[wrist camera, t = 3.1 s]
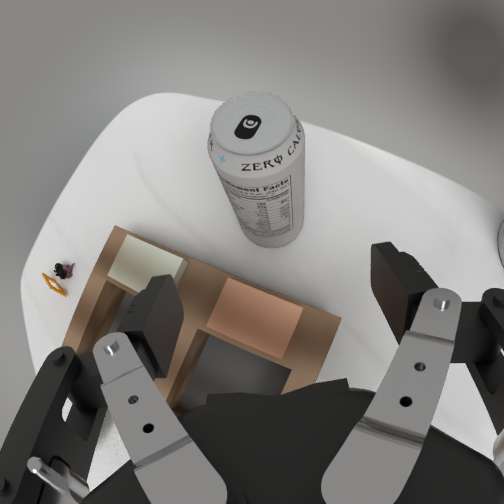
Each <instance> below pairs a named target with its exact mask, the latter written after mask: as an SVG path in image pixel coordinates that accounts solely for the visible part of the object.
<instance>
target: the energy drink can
mask: <svg viewBox="0 0 504 504" xmlns="http://www.w3.org/2000/svg"><path fill="white" fill-rule="evenodd" d="M210 130H211V132H210V134H209V138H208V152H209V156H210V158H211V160H212V163H213V165H214V167H215V169H216V172H217V174H218V176H219V178H220V180H221V183H222V185H223V187H224V189H225V192H226V194H227V196H228V198H229V201H230V203H231V205H232V207H233V209H234V212H235V214H236V216H237V218H238V221H239V223H240V225H241V227H242V230H243V231H244V233H245V235H246V236H247V237H248V239H249V240H251V241H252V242H253V243H255V244H257V245H259V246H262V247H267V248H275V247H280V246H284V245H286V244H288V243H290V242H291V241H292V240H293V239H295V237H296V236H297V235H298V234H299V232H300V230H301V228H302V225H303V218H304V177H305V135H304V130H303V127H302V125H301V123H300V122H299V120H298V119H297V118H296V117H295V115H293V112H292V110H291V108H290V106H289V105H288V104H287V103H286V102H285V101H284V100H282V99H281V98H279V97H277V96H275V95H272V94H269V93H263V92H251V93H244V94H241V95H237V96H235V97H233V98H231V99H229V100H227V101H226V102H224V103H223V104H222V105H221V106H220V107H219V108H218V109H217V110H216V111H215V113H214V115H213V117H212V120H211V124H210Z"/></svg>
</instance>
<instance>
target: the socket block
mask: <svg viewBox="0 0 504 504" xmlns="http://www.w3.org/2000/svg"><path fill="white" fill-rule="evenodd" d="M166 274H170V275H171V276H172V277H173V280H174V282H175V285H176V288H177V291H178V294H179V297H180V299H181V302H182V305H183V310H184V320H183V323H182V327H181V330H180V333H179V337H178V340H177V343H176V347H175V350H174V354H173V357H172V361H171V364H170V368H169V371H168V375H167V378H155V381H154V383H155V385H156V387H157V388H158V390H159V391H160V393H161V395H162V396H163V398H164V399H165V401H166V402H167V404H168V406H169V407H170V409H171V410H172V412H173V413H174V415H175V416H176V418H178V417H179V416H180V415H182V414H184V413H185V412H187V411H189V410H191V409H193V408H196V407H199V406H201V405H205V404H206V399H207V394H220V393H236V392H243V393H252V394H260V395H270V396H278V395H281V394H284V393H287V392H290V391H293V390H296V389H299V388H302V387H305V386H308V385H310V384H315V381H316V379H317V377H318V375H319V372H320V370H321V368H322V365H323V363H324V361H325V358H326V356H327V354H328V351H329V349H330V346H331V344H332V341H333V339H334V336H335V334H336V331H337V329H338V326H339V324H340V321H341V318H340V317H338V316H335V315H332V314H330V313H327V312H324V311H322V310H319V309H317V308H314V307H311V306H309V305H306V304H304V303H301V302H299V301H296V300H293V299H291V298H288V297H286V296H283V295H281V294H278V293H276V292H273V291H271V290H268V289H266V288H263V287H261V286H258V285H256V284H253V283H251V282H248V281H246V280H243V279H241V278H238V277H236V276H233V275H231V274H229V273H226V272H224V271H221V270H219V269H216V268H214V267H212V266H209V265H207V264H204V263H202V262H199V261H197V260H195V259H192V258H190V257H188V256H185V255H183V254H180V253H178V252H176V251H173V250H171V249H169V248H166V247H164V246H162V245H159V244H157V243H155V242H152V241H150V240H148V239H145V238H143V237H141V236H138V235H136V234H134V233H132V232H129V231H127V230H125V229H122V228H120V227H118V226H116V225H115V226H114V228H113V230H112V232H111V234H110V236H109V238H108V240H107V242H106V244H105V246H104V248H103V250H102V252H101V254H100V256H99V258H98V260H97V262H96V265H95V267H94V269H93V271H92V273H91V275H90V278H89V280H88V282H87V284H86V287H85V289H84V291H83V293H82V296H81V298H80V300H79V303H78V305H77V308H76V310H75V313H74V315H73V318H72V320H71V323H70V325H69V328H68V330H67V333H66V336H65V338H64V341H63V344H62V347H63V346H69V347H72V348H73V350H74V351H75V353H76V354H77V356H79V355H83V354H86V353H90V352H93V348H94V346H95V344H96V343H97V342H98V340H100V339H101V338H102V337H104V336H106V335H108V334H110V333H114V332H116V330H117V328H118V326H119V325H120V323H121V321H122V319H123V317H124V315H125V313H127V312H126V311H127V310H128V308H129V307H130V304H131V302H132V300H133V299H134V297H135V296H136V295H137V294H138V293H139V292H140V291H141V290H143V289H146V287H147V285H148V283H149V281H150V279H151V278H152V277H153V276H159V275H166Z"/></svg>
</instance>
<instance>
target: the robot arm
mask: <svg viewBox="0 0 504 504" xmlns="http://www.w3.org/2000/svg"><path fill="white" fill-rule="evenodd" d="M498 246H499V253H500V257H501V260H502V263H503V266H504V221H503V223H502V224H501V227H500V230H499V236H498ZM371 287H372V291H373V294H374V296H375V298H376V300H377V302H378V304H379V305H380V307H381V309H382V311H383V313H384V315H385V317H386V319H387V322H388V324H389V326H390V328H391V330H392V332H393V334H394V336H395V338H396V340H397V342H398V344H399V347H398V349H397V352H396V354H395V356H394V358H393V360H392V362H391V365H390V367H389V369H388V371H387V373H386V375H385V377H384V379H383V381H382V383H381V385H380V387H379V389H378V391H377V392H373V391H370V390H365V389H359V388H349V385H348V381H347V378H344V379H338V380H333V381H327V382H321V383H315V384H310V385H308V386H305V387H302V388H299V389H296V390H293V391H290V392H287V393H284V394H281V395H278V396H270V395H260V394H252V393H243V392H236V393H220V394H207V399H206V404H205V405H201V406H199V407H196V408H193V409H191V410H189V411H187V412H185V413H184V414H182V415H180V416H179V417H178V418H176V416H175V415H174V413H173V412H172V410H171V409H170V407H169V406H168V404H167V402H166V401H165V399H164V398H163V396H162V395H161V393H160V391H159V390H158V388H157V387H156V385H155V383H154V381H155V378H167V375H168V371H169V368H170V364H171V361H172V357H173V354H174V350H175V347H176V343H177V340H178V337H179V333H180V330H181V327H182V323H183V320H184V310H183V305H182V302H181V299H180V297H179V294H178V291H177V288H176V285H175V282H174V280H173V277H172V276H171V275H170V274H166V275H159V276H153V277H152V278H151V279H150V281H149V283H148V285H147V287H146V289H143V290H141V291H140V292H139V293H138V294H137V295H136V296H135V297H134V299H133V300H132V302H131V304H130V307H129V308H128V310H127V311H126V312H127V313H125V315H124V317H123V319H122V321H121V323H120V325H119V326H118V328H117V330H116V332H114V333H110V334H108V335H106V336H104V337H102V338H101V339H100V340H98V342H97V343H96V344H95V346H94V348H93V352H90V353H86V354H83V355H79V356H77V354H76V353H75V351H74V350H73V348H72V347H69V346H63V347H60V348H57V349H55V350H54V351H53V352H51V353H50V354H49V355H48V356H47V358H46V360H45V361H44V363H43V365H42V367H41V368H40V370H39V372H38V374H37V376H36V378H35V380H34V381H33V383H32V385H31V387H30V389H29V391H28V393H27V395H26V397H25V399H24V401H23V403H22V405H21V407H20V409H19V411H18V413H17V415H16V417H15V419H14V421H13V424H12V425H11V428H10V430H9V432H8V434H7V437H6V439H5V441H4V443H3V446H2V448H1V451H0V504H504V356H503V354H502V353H501V351H500V350H501V348H502V349H503V351H504V290H503V289H500V288H491V289H488V290H486V291H485V292H484V293H483V296H482V300H481V302H462V301H461V298H460V297H459V295H458V294H456V293H455V292H453V291H452V290H449V289H445V288H439V287H438V286H437V285H436V284H435V282H434V281H433V280H432V279H431V277H430V276H429V275H428V274H427V272H426V271H424V269H423V268H422V266H421V265H419V263H418V262H417V260H416V259H415V258H414V257H413V256H411V255H409V254H407V253H406V252H399V251H398V250H397V249H396V248H395V246H394V245H393V244H392V243H391V242H383V243H377V244H372V246H371ZM450 363H465V364H466V366H467V368H468V370H469V372H470V374H471V376H472V378H473V380H474V382H475V384H476V386H477V389H478V391H479V393H480V395H481V397H482V399H483V402H484V404H485V406H486V409H487V411H488V413H489V416H490V418H491V420H492V423H493V425H494V428H495V430H496V433H497V435H498V436H497V438H496V440H495V442H494V445H493V454H494V460H493V461H492V460H490V459H489V458H487V457H486V456H484V455H482V454H481V453H479V452H477V451H475V450H473V449H472V448H470V447H468V446H466V445H465V444H463V443H461V442H459V441H458V440H456V439H454V438H452V437H451V436H449V435H447V434H446V433H444V432H442V431H441V430H439V429H437V428H436V427H434V426H432V425H431V421H432V419H433V416H434V413H435V410H436V407H437V404H438V401H439V398H440V395H441V392H442V389H443V386H444V382H445V379H446V376H447V372H448V368H449V365H450ZM67 397H68V398H69V400H70V401H71V402H72V403H73V404H72V407H71V409H70V412H69V414H68V417H67V419H66V422H65V421H64V420H63V417H62V408H63V406H64V403H65V401H66V399H67ZM107 408H109V410H110V413H111V415H112V418H113V420H114V422H115V425H116V427H117V429H118V432H119V434H120V436H121V438H122V441H123V443H124V445H125V447H126V449H127V451H128V453H129V456H130V458H131V459H130V460H129V461H127V462H126V463H125V464H124V465H123V466H122V467H120V468H119V469H118V470H117V471H116V472H114V473H113V474H112V475H111V476H110V477H108V478H107V479H106V480H105V481H104V482H102V483H101V484H100V485H99V486H97V487H96V488H95V489H94V490H92V491H91V492H90V491H89V486H88V484H87V482H86V481H87V477H88V473H89V470H90V466H91V462H92V458H93V455H94V451H95V448H96V444H97V441H98V437H99V434H100V431H101V427H102V424H103V421H104V417H105V414H106V411H107Z"/></svg>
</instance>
